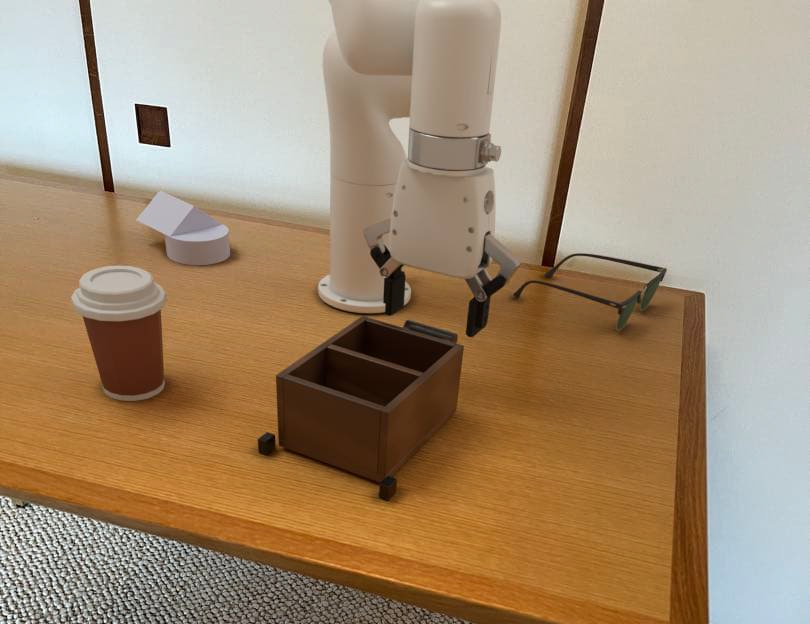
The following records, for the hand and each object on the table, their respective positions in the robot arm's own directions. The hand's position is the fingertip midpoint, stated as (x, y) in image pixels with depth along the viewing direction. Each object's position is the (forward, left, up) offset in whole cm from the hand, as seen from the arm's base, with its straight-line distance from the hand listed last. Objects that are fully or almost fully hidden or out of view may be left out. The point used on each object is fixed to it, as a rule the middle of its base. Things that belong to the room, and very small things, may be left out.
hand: (433, 321), depth 88 cm
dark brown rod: (+21, -1, -8) cm, 22 cm away
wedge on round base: (-16, -48, -8) cm, 51 cm away
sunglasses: (-33, +7, -8) cm, 35 cm away
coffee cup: (+19, -27, -8) cm, 33 cm away
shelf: (+9, -1, -7) cm, 12 cm away
